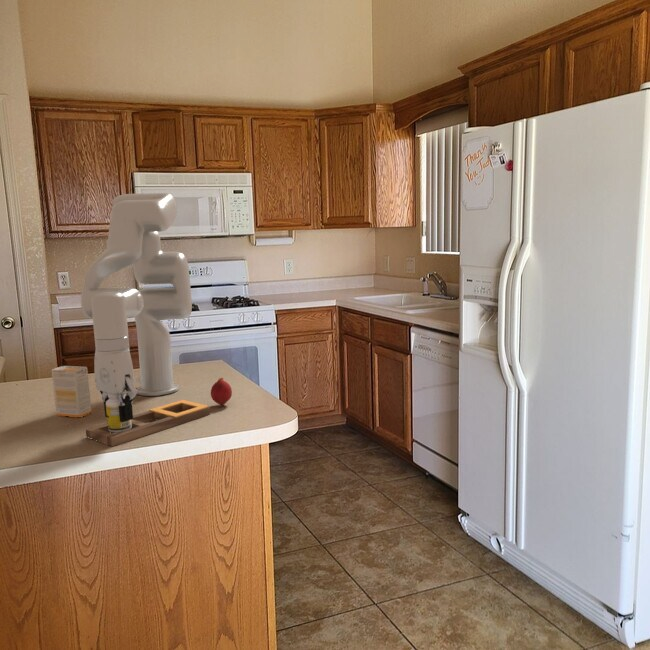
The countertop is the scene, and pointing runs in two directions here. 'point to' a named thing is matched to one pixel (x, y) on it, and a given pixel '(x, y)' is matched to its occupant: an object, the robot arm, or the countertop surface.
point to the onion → (221, 392)
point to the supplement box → (71, 391)
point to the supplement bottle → (115, 415)
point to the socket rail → (163, 414)
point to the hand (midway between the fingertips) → (119, 417)
